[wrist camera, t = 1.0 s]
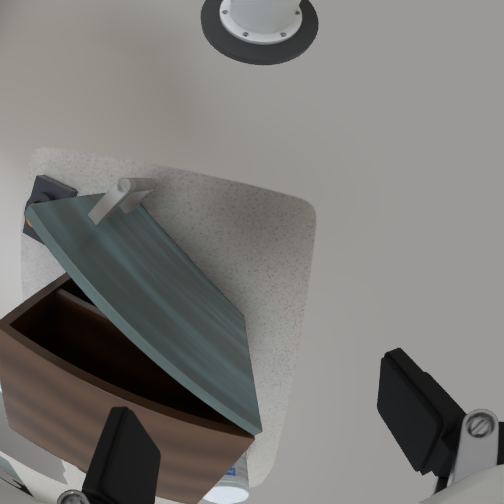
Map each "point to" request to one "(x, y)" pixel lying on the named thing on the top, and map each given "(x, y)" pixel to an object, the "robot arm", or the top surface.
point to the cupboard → (105, 392)
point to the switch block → (46, 198)
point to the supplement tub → (231, 484)
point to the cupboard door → (153, 293)
